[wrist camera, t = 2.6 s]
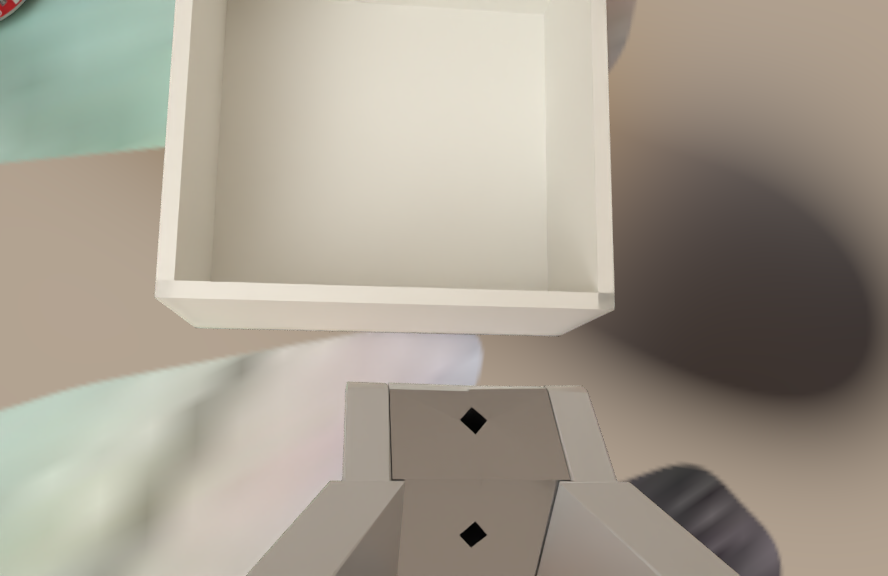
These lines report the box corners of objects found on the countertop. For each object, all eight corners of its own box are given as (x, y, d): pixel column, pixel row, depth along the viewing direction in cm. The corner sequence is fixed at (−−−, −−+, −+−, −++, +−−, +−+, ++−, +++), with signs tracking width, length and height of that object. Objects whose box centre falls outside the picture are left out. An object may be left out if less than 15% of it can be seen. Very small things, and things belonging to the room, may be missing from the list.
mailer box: (195, 327, 36) (154, 297, 28) (216, -14, 39) (184, -128, 31) (558, 336, 38) (615, 309, 30) (553, 9, 41) (603, -94, 33)
